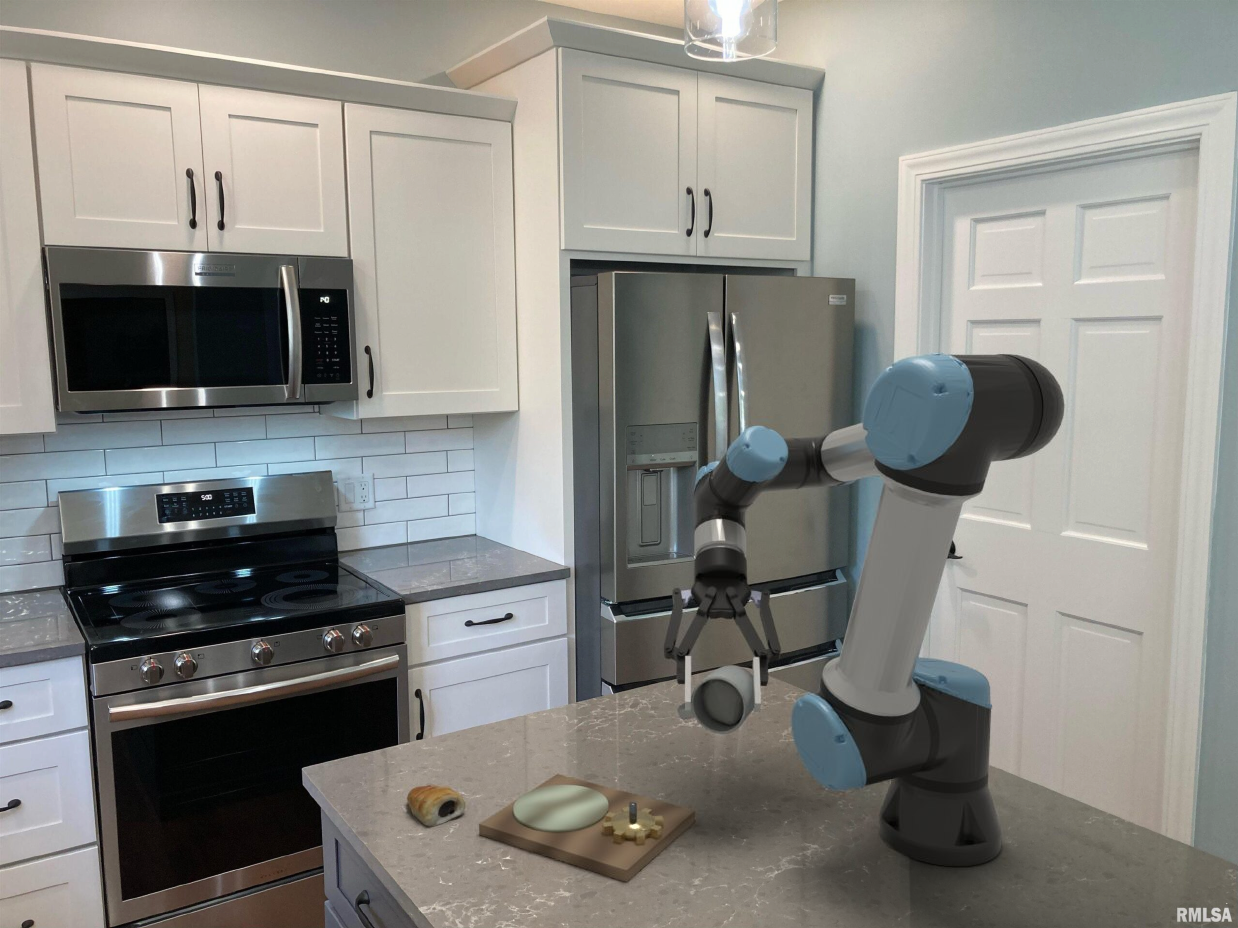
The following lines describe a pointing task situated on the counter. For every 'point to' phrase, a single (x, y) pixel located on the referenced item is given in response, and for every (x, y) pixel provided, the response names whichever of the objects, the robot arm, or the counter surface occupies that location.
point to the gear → (633, 825)
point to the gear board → (583, 826)
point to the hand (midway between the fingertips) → (722, 706)
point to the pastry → (435, 804)
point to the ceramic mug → (722, 700)
